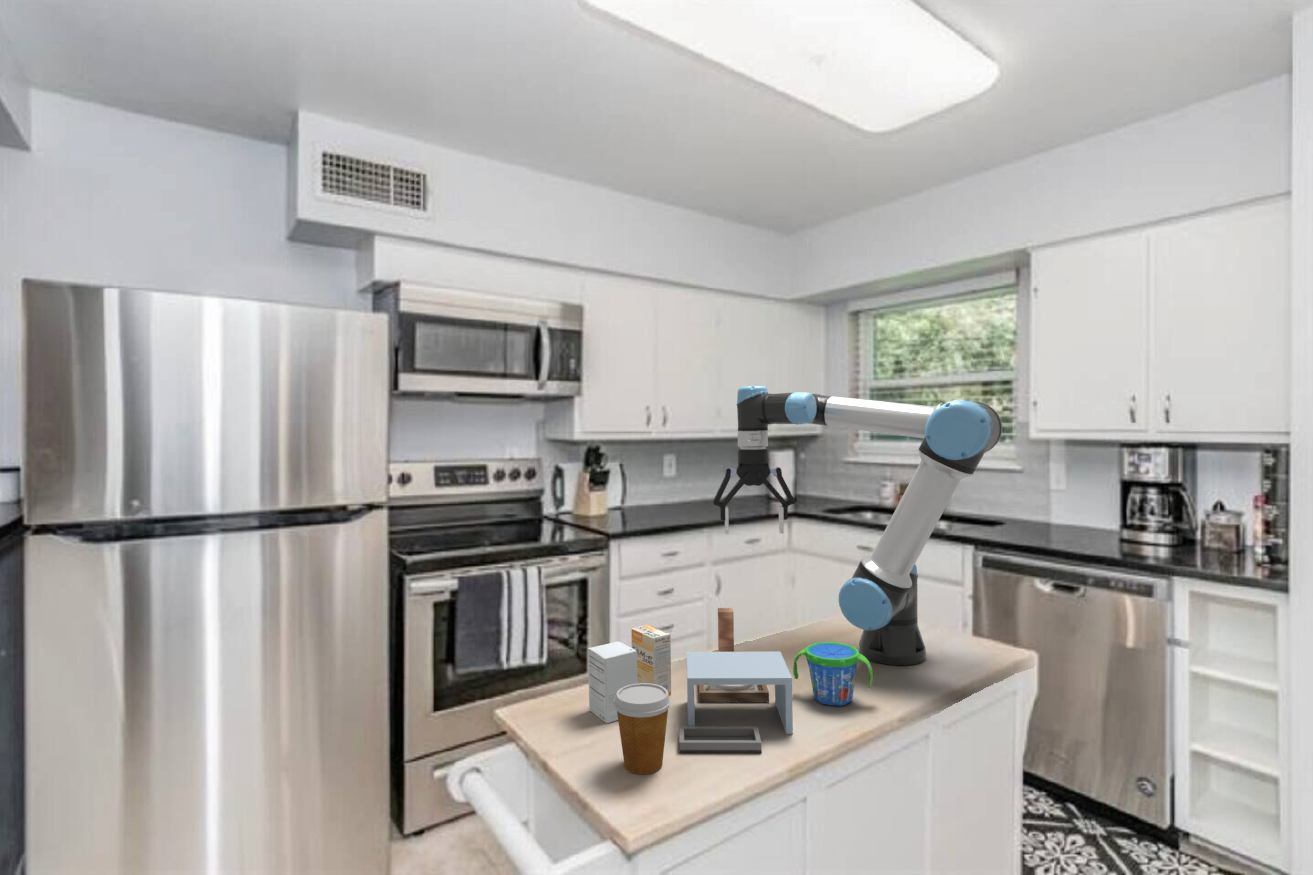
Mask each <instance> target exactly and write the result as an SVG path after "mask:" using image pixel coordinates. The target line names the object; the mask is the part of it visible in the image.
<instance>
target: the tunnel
mask: <svg viewBox="0 0 1313 875" xmlns="http://www.w3.org/2000/svg"><path fill="white" fill-rule="evenodd" d="M698 685H704V686H705V685H706V686H708V685H755V686H759V685H767V686H770V685H771V686H773V685H774V702H775V705H776V708H777V711H778V714H779V716H780V717H779V718H780V719H781V723H782V726H783V729H784V732H785V734H786V735H793V734H794V729H793V728H794V726H793V725H794V723H793V721H794V720H793V717H794V716H793V713H794V712H793V677H792V674H791V673H790V670H789V668H788V666H787V663H786V661H785V659H784V657H783V654H782V652H781V651H734V652H718V651H686V689H687V690H686V691H687V694H686V696H687V698H686V699H687V700H686V701H687V702H686V703H687V727H696V724H695V722H696V721H695V720H696V719H695V713H696V712H695V686H698Z"/></svg>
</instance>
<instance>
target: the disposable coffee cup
mask: <svg viewBox="0 0 1313 875" xmlns="http://www.w3.org/2000/svg"><path fill="white" fill-rule="evenodd" d="M671 704H672V699H671V697H670V695H668V691H667V690H666V689H665V688H664V687H662V686H660V685H656V684H651V683H637V684H631V685H627V686H625V687H623V688H620V689H619V690H618V691H617V694H616V698H615V699H614V706H615V708H616V710H617V715H618V720H617V722H618V730H619V736H620V742H621V744H620V745H621V750H622V756H623V757H622V758H623V765H624V769H625V770H626V771H628V772H629V773H632V774H636V775H649V774H653V773H655V772H658V771H659V770H661V769H662V767H663V763H664V762H663V761H664V760H663V759H664V752H665V743H666V734H667V726H668V725H667V724H668V714H669V708H670V706H671Z"/></svg>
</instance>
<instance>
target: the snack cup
mask: <svg viewBox="0 0 1313 875" xmlns="http://www.w3.org/2000/svg"><path fill="white" fill-rule="evenodd" d="M802 655H803V656H805V659H806V662H807V666H808V667H809V668H808V669H809V676H810V680H811V687H812V693H813V696H814V699H816V701H817V702H819V703H820V704H822V705H827V706H839V707H842V706H845V705H847V704H849V703H850V702H853V697H854V688H855V682H856V674H857V664H858V662H862V663H863V664H865V665H866V667H867V670H868V689H869V690H870V689H871V688H872V685H873V679H874V672H873V668H872V667H873V666H872V665H871V663H870V660H869V659H867V658H866V657H865V656H863V655H862V654H860V653H859V649H857V647H855V646H852V645H850V644H846V643H842V642H835V641H834V642H833V641H823V642H816V643H811V644H809V645H808V646H807V647H805V648H803V649H801V650H800V651H799V652H798V653H797V654H796V656H795V658H794V660H793V666H792V668H793V669H792V673H793V678H794V679H795V680H798V678H799V671H798V664H797V661H798V660H799V658H800V657H801V656H802Z"/></svg>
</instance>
